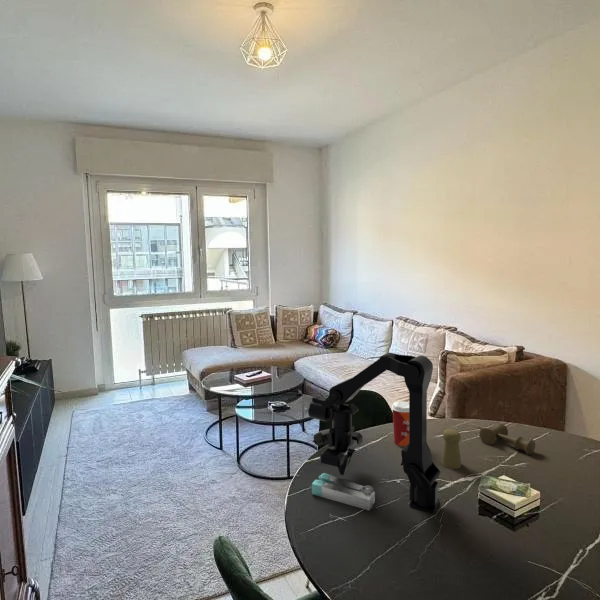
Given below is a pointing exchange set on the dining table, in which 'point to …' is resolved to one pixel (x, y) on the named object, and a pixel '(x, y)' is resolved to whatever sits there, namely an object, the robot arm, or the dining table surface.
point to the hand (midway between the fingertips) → (342, 474)
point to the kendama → (505, 438)
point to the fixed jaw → (345, 494)
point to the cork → (451, 449)
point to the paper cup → (401, 423)
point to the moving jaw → (340, 482)
